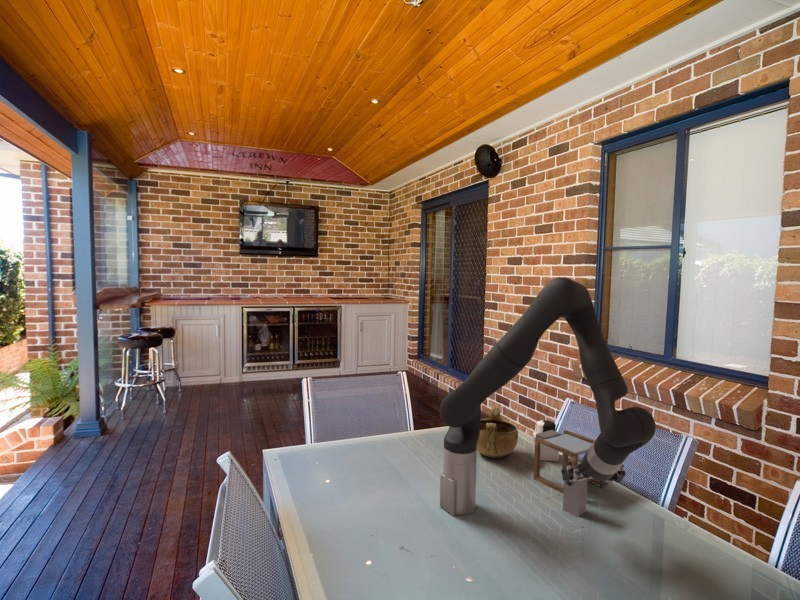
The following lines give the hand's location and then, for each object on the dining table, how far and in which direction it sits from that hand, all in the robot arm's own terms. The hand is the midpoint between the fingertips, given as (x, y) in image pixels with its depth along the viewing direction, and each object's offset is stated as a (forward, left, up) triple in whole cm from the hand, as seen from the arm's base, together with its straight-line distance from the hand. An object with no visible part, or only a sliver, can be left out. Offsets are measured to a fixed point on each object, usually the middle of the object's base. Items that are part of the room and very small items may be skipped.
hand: (585, 483), depth 119 cm
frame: (+17, +18, -12) cm, 28 cm away
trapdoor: (+17, +21, 0) cm, 27 cm away
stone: (+4, +6, -12) cm, 14 cm away
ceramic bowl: (+12, +47, -12) cm, 50 cm away
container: (+27, +36, -12) cm, 47 cm away
